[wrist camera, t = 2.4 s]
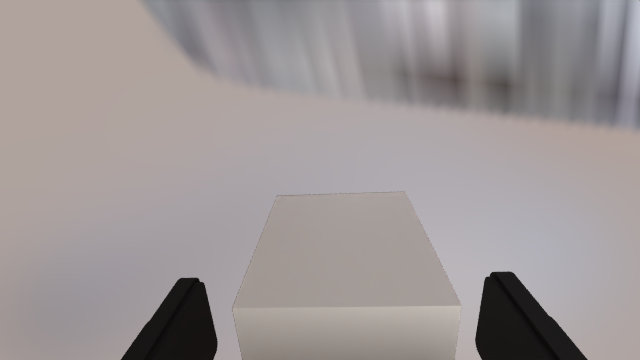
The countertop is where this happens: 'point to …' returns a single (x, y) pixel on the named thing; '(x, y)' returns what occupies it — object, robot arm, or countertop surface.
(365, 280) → the cube
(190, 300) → the robot arm
